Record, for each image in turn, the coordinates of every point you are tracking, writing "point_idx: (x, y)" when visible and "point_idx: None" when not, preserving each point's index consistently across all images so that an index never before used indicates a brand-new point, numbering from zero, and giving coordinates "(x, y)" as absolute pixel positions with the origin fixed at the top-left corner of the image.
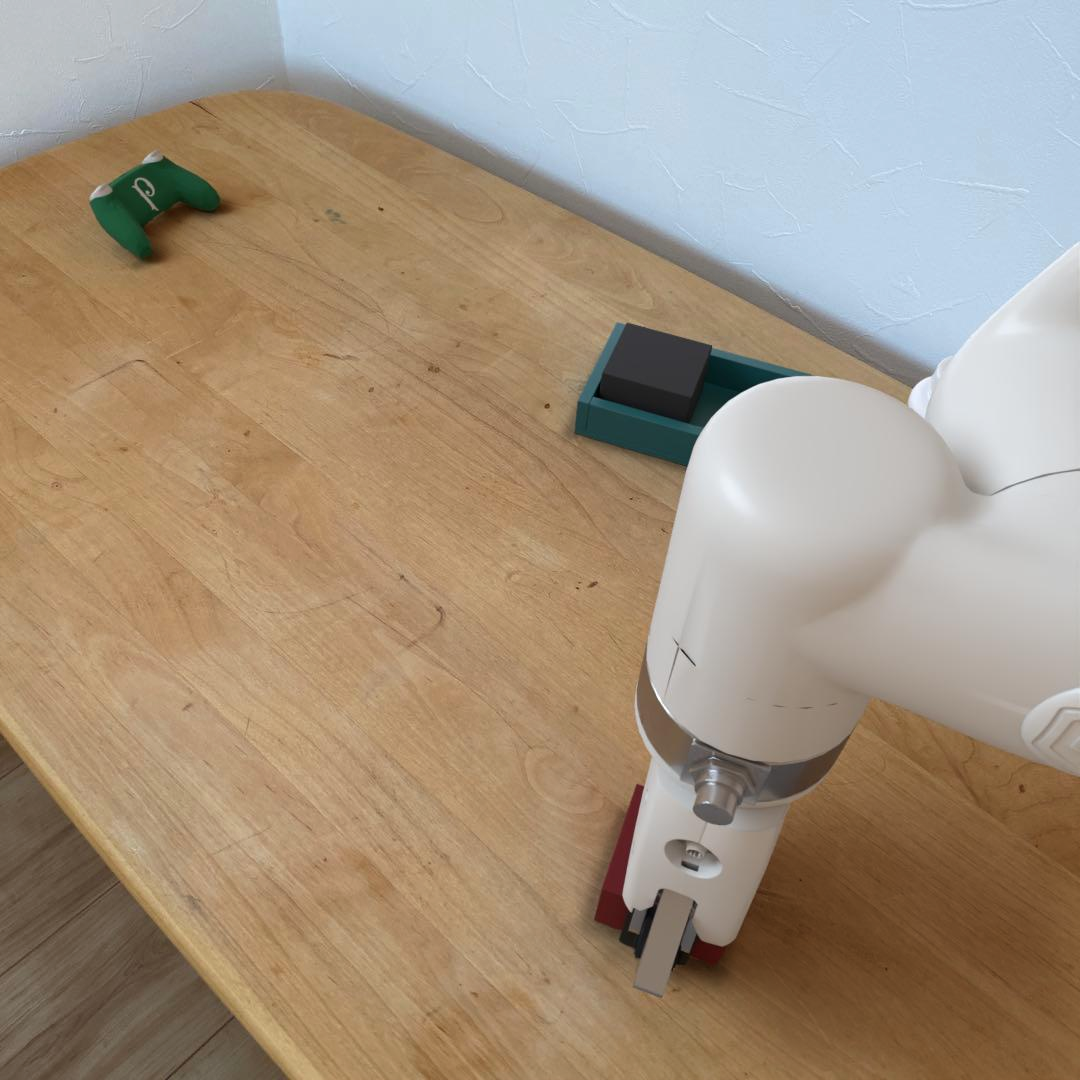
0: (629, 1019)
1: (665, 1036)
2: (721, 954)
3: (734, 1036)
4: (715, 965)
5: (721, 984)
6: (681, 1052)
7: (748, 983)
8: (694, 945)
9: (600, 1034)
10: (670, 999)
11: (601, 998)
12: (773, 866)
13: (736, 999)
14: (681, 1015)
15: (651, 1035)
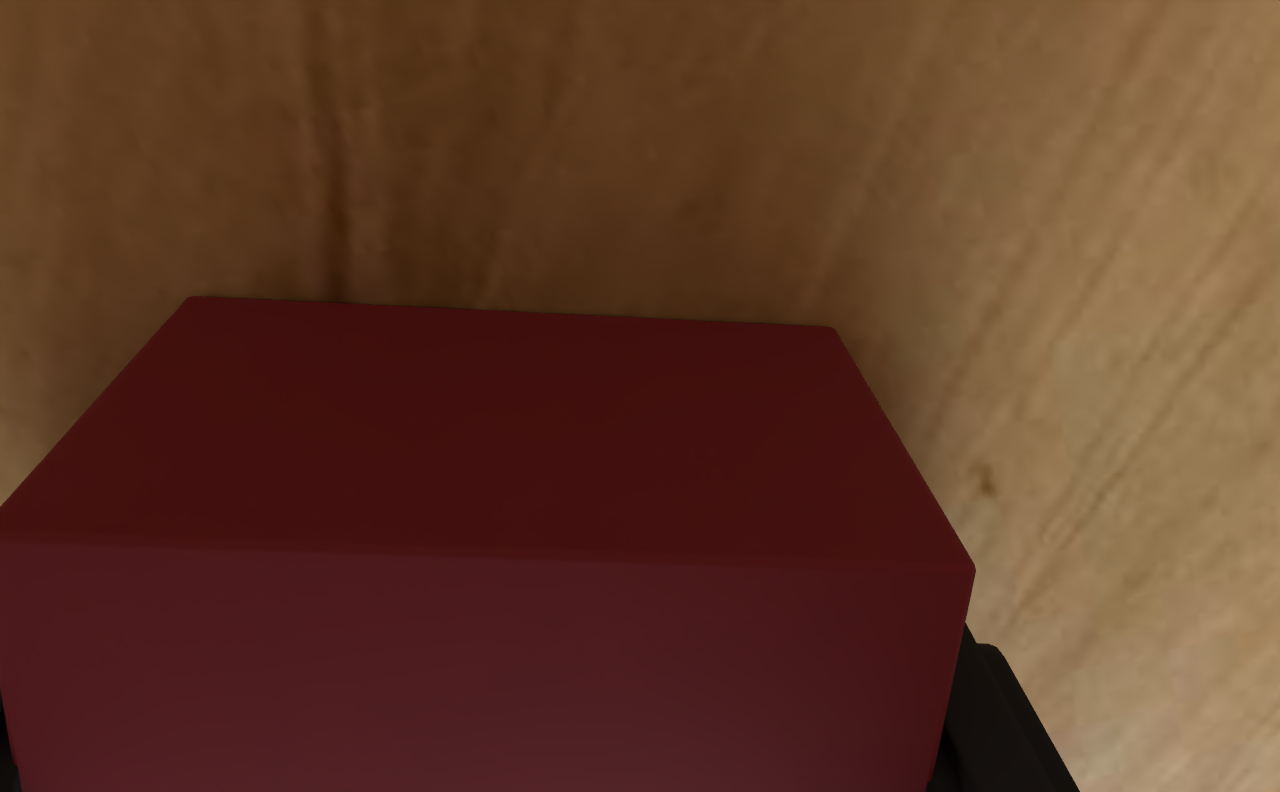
0: (1148, 633)
1: (1204, 481)
2: (877, 405)
3: (1167, 169)
4: (834, 333)
5: (917, 279)
6: (1267, 400)
7: (882, 141)
8: (1000, 691)
9: (1223, 719)
10: (1035, 494)
11: (1077, 749)
12: (140, 105)
13: (979, 191)
14: (1100, 433)
15: (1206, 536)
